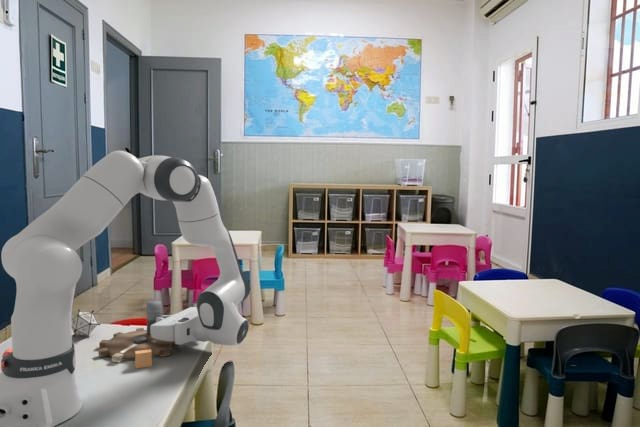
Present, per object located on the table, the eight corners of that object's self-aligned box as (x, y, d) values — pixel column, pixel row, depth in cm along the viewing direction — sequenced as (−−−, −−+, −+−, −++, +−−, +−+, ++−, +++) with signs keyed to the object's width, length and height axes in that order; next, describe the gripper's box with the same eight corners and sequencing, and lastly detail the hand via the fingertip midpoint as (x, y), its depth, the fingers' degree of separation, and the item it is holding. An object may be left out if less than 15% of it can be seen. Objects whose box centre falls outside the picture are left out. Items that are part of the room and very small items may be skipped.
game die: (90, 345, 148) (111, 318, 150) (75, 345, 140) (96, 317, 142) (71, 328, 150) (91, 302, 152) (54, 328, 142) (76, 300, 144)
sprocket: (152, 367, 124) (151, 325, 123) (80, 357, 130) (79, 316, 128) (194, 336, 147) (194, 301, 146) (131, 329, 152) (131, 294, 151)
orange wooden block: (135, 368, 124) (135, 353, 124) (135, 365, 126) (135, 351, 126) (151, 366, 126) (151, 351, 125) (151, 363, 128) (150, 349, 127)
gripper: (216, 305, 148) (179, 300, 152) (175, 325, 129) (135, 318, 133) (216, 324, 148) (180, 318, 153) (175, 347, 129) (135, 339, 134)
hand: (158, 318), depth 143 cm, fingers closed, pressing on sprocket
